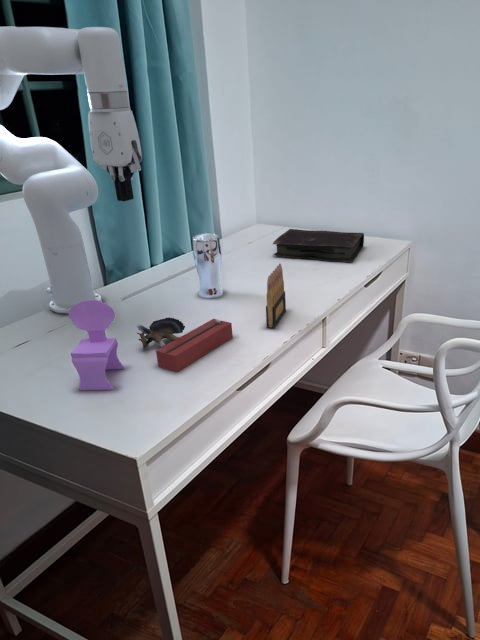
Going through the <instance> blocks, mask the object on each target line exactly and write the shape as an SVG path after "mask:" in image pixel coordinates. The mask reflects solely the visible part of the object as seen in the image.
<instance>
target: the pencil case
mask: <svg viewBox="0 0 480 640" xmlns="http://www.w3.org/2000/svg"><path fill="white" fill-rule="evenodd" d="M233 337H234V336H233V325H232V322H229V321H226V320H221V319H218V318H212V319H209V320H207V321H206V322H205V323H203V324H201V325H199V326H196V327H195V328H193V329H192V330H190V331H188V332H187V333H185V334H183V335H181V336H180V337H179V338H178V339H176V340H172V341H170V342H169V343H167V344H165V346H163V347H160V348H158V349H156V350H155V353H156V360H157V366H158V367H159V368H163V369H165V370H169V371H172V372H176V373H178V372H180V371H182V370H183V369H185V368H187V367H188V366H189V365H191V364H193V363H194V362H196V361H198V360H199V359H201V358H203V357H204V356H205V355H207V354H209V353H211V352H212V351H214V350H215V349H217V348H219V347H220V346H222V345H223V344H225V343H226V342H228V341H230V340H231V339H233Z"/></svg>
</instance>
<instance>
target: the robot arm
mask: <svg viewBox="0 0 480 640" xmlns="http://www.w3.org/2000/svg"><path fill="white" fill-rule="evenodd" d="M124 66H125V65H124V60H123V53H122V45H121V40H120V36H119V34H118V32H117V30H115V28H112V27H108V26H107V27H106V26H88V27H82V28H80V29H78V28H66V27H54V26H53V27H51V26H13V25H10V26H0V111H2V110H5V109H6V108H8V107H9V106H10V105H11V103H12V102H13V100H14V97H15V96H16V94H17V92H18V90H19V88H20V85H21V83H22V81H23V79H24V77H25V76H27V75H51V76H52V75H53V76H54V75H83V77H84V82H85V88H86V92H87V101H88V105H89V109H90V110H89V111H88V116H87V117H88V133H89V142H90V143H89V144H90V149H91V154H92V159H93V162H94V163H95V164H97V165H99V167H100V169H101V170H104V171H106V172H108V174H109V176H110V179H111V181H113V183H114V190H115V194H116V200H117V201H118V202H128V201H131V200H134V197H135V196H134V190H133V185H132V180H133V178H134V174H135V173H137V172H140V171H142V166H141V164H140V163H141V162H142V160H143V155H142V154H143V153H142V146H141V141H140V136H139V131H138V127H137V123H136V120H135V116H134V114H133V110H131V106H130V99H129V93H128V86H127V79H126V72H125V67H124ZM0 176H2V177H3V178H4V179H5V180H7V181H8V182H10V183H11V184H14V185H17V186H18V185H19V186H21V185H22V197H23V201H24V203H25V206H26V207H27V209H28V212H29V213H30V216H31V218H32V221H33V223H34V226H35V229H36V234H37V236H38V240H39V244H40V248H41V252H42V256H43V259H44V263H45V267H46V271H47V275H48V279H49V284H50V287H47V288H46V293H48V294H51V296H52V300H50V301H49V303H48V306H49V309H50V310H51V311H52V312H54V313H57V314H69V311H70V309H71V308H72V307H73V306H74V305H76V304H77V303H79V302H82V301H85V300H90V299H95V300H99V301H101V302H103V297H102V295H101V294H100V293H97V292H95V290H94V286H93V282H92V276H91V271H90V268H89V262H88V258H87V253H86V249H85V244H84V239H83V236H82V232H81V229H80V227H79V226H78V225H77V223H76V222H75V221H74V219H73V218H72V216H71V215H70V213H72V212H75V211H80V210H83V209H86V208H88V207H91V206H92V205H94V204H95V203H96V202H97V200H98V198H99V187H98V183H97V181H96V179H95V178H94V176H93V175H92V174H91V172H90V171H89V170H88V169H87V168H86V167H85V166H83V164H82V163H81V162H80V161H78V160H77V159H76V158H75V157H74V156H73V155H72V154H71V153H69V152H68V150H66V149H65V148H64V147H63V146H62V145H61V144H60V143H58V142H57V141H55V140H53V139H50V138H48V137H45V136H44V137H43V136H34V137H27V138H21V137H17V136H15V135H14V134H12V132H10V131H9V130H7V129H6V128H5V126H3V125H2V124H1V123H0Z"/></svg>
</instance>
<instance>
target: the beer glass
mask: <svg viewBox="0 0 480 640" xmlns="http://www.w3.org/2000/svg"><path fill="white" fill-rule="evenodd" d="M191 238H192V255H193V261H194V266H195V269H196V272H197V275H198V279H199V296H200V298H203V299H216V298H219V297H221V296H223V295H224V291H223V287H222V283H221V271H222V247H221V241H220V236H219V235H218V234H217V233H208V232H207V233H199V234H196V235H193V236H192V237H191Z"/></svg>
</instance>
